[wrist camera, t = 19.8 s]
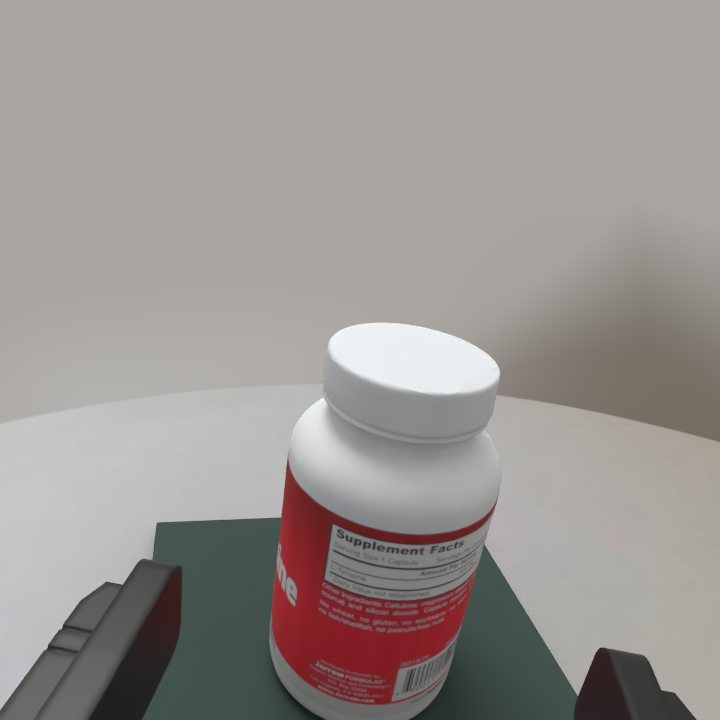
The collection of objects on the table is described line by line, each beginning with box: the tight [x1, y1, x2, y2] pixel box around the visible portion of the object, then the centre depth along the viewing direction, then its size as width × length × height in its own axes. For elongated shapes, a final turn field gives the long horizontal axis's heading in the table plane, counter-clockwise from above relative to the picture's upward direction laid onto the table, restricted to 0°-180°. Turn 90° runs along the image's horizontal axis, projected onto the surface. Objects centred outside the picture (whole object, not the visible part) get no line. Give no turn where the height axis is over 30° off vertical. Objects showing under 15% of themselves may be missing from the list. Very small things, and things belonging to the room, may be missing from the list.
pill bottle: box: [269, 323, 501, 720], centre depth 18 cm, size 6×6×11 cm
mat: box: [142, 518, 578, 720], centre depth 20 cm, size 14×14×1 cm
